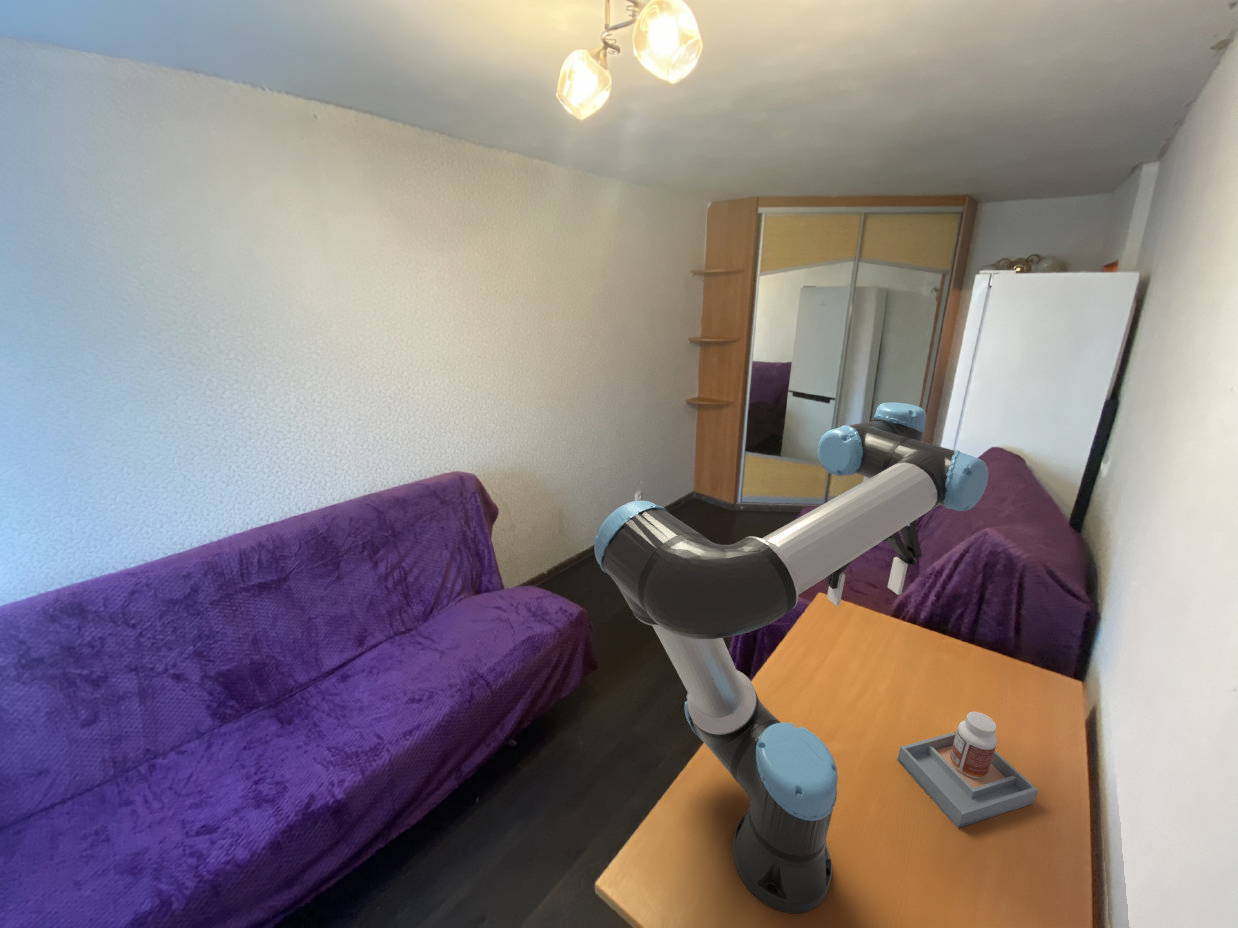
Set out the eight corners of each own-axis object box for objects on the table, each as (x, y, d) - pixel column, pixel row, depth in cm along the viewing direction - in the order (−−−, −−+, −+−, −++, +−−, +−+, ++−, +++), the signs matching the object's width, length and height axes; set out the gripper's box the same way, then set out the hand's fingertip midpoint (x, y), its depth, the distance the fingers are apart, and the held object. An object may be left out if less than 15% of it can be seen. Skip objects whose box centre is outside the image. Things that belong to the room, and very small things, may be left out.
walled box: (957, 828, 91) (962, 814, 89) (897, 759, 103) (900, 746, 102) (1032, 803, 95) (1038, 789, 94) (965, 740, 108) (969, 727, 106)
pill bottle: (992, 769, 100) (1008, 725, 96) (977, 785, 97) (992, 740, 93) (958, 746, 105) (972, 703, 101) (942, 761, 102) (955, 717, 98)
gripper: (837, 508, 85) (819, 618, 92) (960, 493, 91) (934, 597, 99) (810, 491, 92) (794, 594, 99) (926, 477, 98) (903, 576, 105)
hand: (864, 596), depth 99 cm, fingers open, 13 cm apart
